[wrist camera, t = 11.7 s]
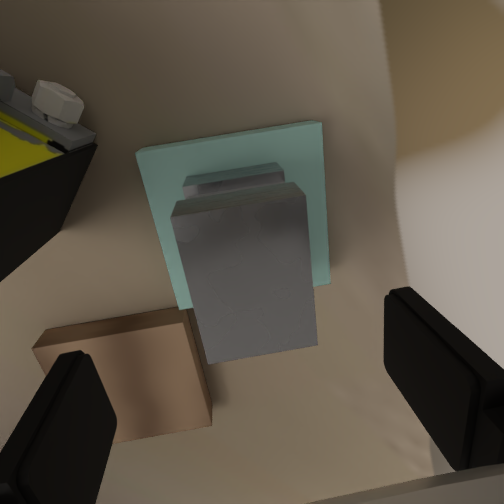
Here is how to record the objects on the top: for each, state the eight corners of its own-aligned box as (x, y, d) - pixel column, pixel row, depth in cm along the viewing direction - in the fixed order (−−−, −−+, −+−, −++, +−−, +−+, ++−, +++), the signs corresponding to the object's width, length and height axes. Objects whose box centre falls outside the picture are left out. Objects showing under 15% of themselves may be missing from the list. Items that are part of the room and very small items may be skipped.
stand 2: (182, 293, 24) (179, 310, 22) (142, 147, 20) (134, 152, 18) (322, 269, 24) (330, 283, 22) (312, 120, 20) (321, 122, 18)
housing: (186, 176, 19) (170, 217, 12) (276, 161, 19) (305, 194, 12) (211, 285, 22) (208, 364, 15) (288, 272, 22) (317, 345, 15)
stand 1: (93, 426, 28) (84, 448, 27) (45, 329, 24) (31, 348, 22) (212, 404, 29) (211, 425, 27) (185, 305, 24) (182, 322, 23)
